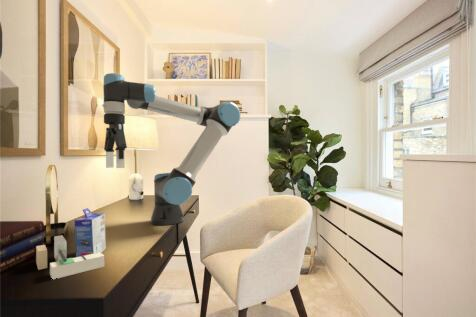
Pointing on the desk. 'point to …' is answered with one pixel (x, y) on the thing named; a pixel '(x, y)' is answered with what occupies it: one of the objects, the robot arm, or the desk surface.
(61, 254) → the block
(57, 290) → the desk surface
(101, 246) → the ink cartridge box
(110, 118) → the robot arm
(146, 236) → the desk surface
